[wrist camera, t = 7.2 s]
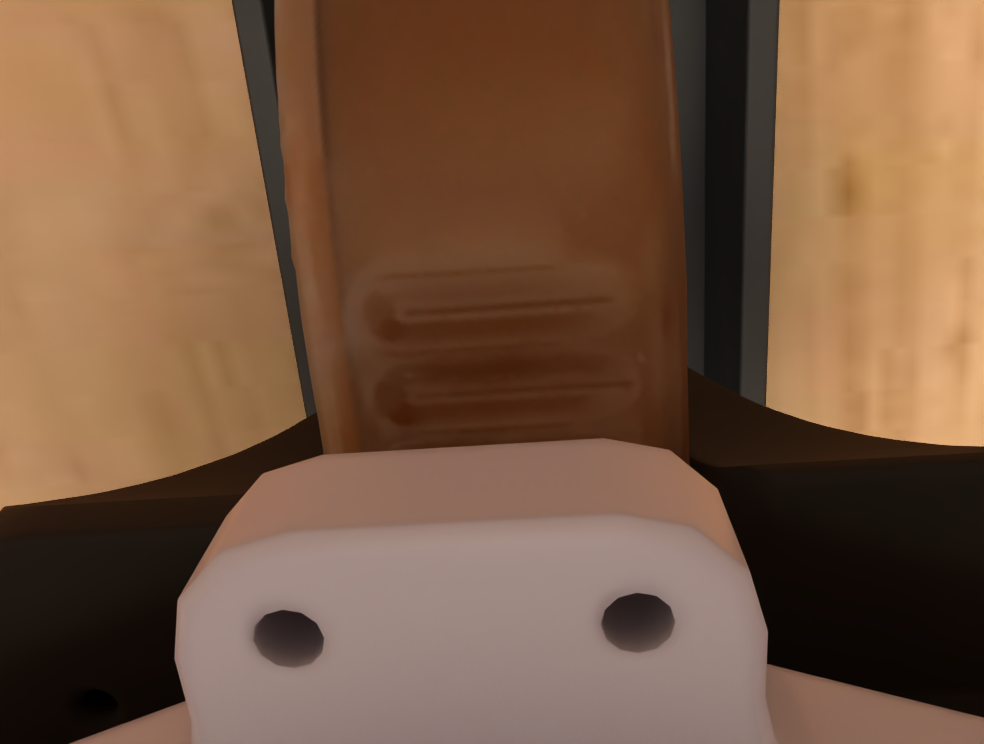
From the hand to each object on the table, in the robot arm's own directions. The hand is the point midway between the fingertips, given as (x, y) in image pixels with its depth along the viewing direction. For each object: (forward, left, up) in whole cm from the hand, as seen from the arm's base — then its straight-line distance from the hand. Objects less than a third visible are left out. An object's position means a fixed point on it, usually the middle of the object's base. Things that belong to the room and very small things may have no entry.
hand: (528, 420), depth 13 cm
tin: (0, 0, -2) cm, 2 cm away
